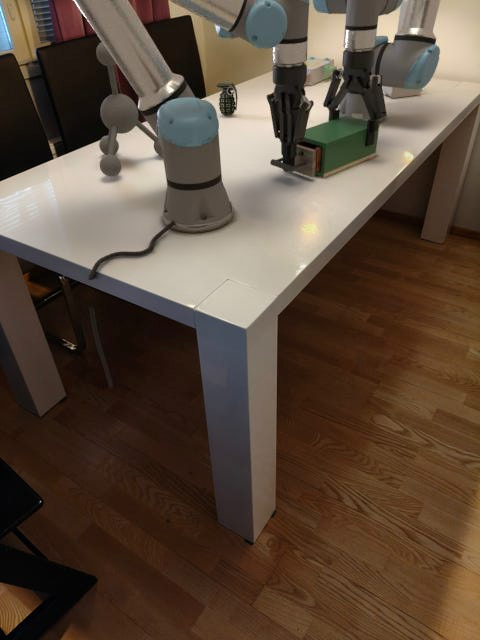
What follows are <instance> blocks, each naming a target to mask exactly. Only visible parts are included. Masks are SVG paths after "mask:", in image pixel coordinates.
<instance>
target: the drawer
mask: <svg viewBox="0 0 480 640" xmlns="http://www.w3.org/2000/svg"><path fill="white" fill-rule="evenodd" d="M322 148H323V147H321V146H318V145H314V144H311V143H308V142H304V141H302V142H299V143H297V155H296V157H295V166H292V165H289V164H286V163H283V157H280V158H278V159H274V158H273V159H271V160H270V163H269V164H270V165H271V166H273V167H276V168H278V169H282V170H283V169H284V170H287V171H286V172H291V173H293V172H295V173H298V174H301V175H304V176H307V177H309V178H314V177H316V175H315V171H316V172H317V171H320V170H321V166H322ZM284 170H283V171H284Z"/></svg>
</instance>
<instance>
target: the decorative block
mask: <svg viewBox="0 0 480 640" xmlns="http://www.w3.org/2000/svg"><path fill="white" fill-rule="evenodd" d="M304 63H305V64H306V65H307V80H306V82H305V84H304V85H307V86H313V85H316V84H318V83H320V82H323V81H325V80H327V79H329V78H331V76H332V74H333V70H336V69H338V66H336V65H335V59H334V58H329V57H325V58H323V57H322V58H321V57H314V56H310V57H307V61H306V62H304Z"/></svg>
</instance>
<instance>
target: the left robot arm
mask: <svg viewBox="0 0 480 640" xmlns="http://www.w3.org/2000/svg"><path fill="white" fill-rule="evenodd" d="M73 1H74V3H75V4H76V6H77V7H78V10H80V12H81V14H82V15H83V17H85V19H86V21H87V22H88V23H89V25H90V26H91V28H92V29H93V31H94V33H95V34H96V35H97V37H98V38H99V41H101V42H102V43H103V44H104V46H105V47H106V49H107V50H108V52H109V53H110V55H111V56H112V58H113V59H114V61H115V62H116V64H115V65H117V67H118V68H119V70H120V71H121V72H122V74H123V75H124V77H125V79H126V80H127V81H128V83H129V84H130V86H131V87H132V89H133V90H134V92H135V93H136V95H137V96H138V101H137V102H138V103H137V109H138V111H139V112H140V113H141V115H142V116H143V117H144V119H145V121H146V122H147V123H148V125H149V126H150V128H151V130H152V131H153V133H154V135H155V136H157V137H158V140H159V143H160V145H161V148H162V154H163V156H162V159H163V168H164V173H165V180H166V190H165V191H166V192H165V196H164V203H163V207H162V218H163V222H164V224H165V226H164V227H163V228H162V229H161V230H160V231H159V232H157V233H156V234H155V235H154V236H153V237H152V238H151V240H150V242H149V245H148V247H147V248H145V249H143V250H139V251H123V250H121V251H116V252H111V253H109V254H106V255H104V256H102V257H101V258H99V259H98V260H97V261H96V262H94V265H93V266H92V268H91V271H90V273H89V275H88V281H92V280H94V278H95V276H96V274H97V271H98V269H99V268H100V266H101V265H102V263H104V262H107V261H108V260H111V259H114V258H117V257H141V256H145V255H147V254H149V253H151V252H152V251H153V250H154V248H155V244H156V242H157V241H158V240H159V238H161V237H162V236H163V235H164V234H165V233H167V232H168V231H169V230H170V229H171V230H173V231H177V232H180V233H190V234H191V233H192V234H193V233H194V234H195V233H196V234H197V233H205V232H206V233H207V232H210V231H215V230H216V229H220V228H222V227H224V226H226V225H227V224H228V223H230V221H231V220H232V218H233V216H234V212H233V211H234V205H233V202H232V200H231V199H230V197H229V195H228V192H227V190H226V187H225V184H224V182H223V175H222V174H223V173H222V164H221V163H222V161H221V147H220V146H221V145H220V133H219V129H220V122H219V118H218V114H217V109H216V108H215V105H213V104H212V103H211V102H210V101H208V100H207V99H206V100H205V99H201V98H199V97H196V96H195V95H194V93H193V91H192V89H191V88H190V86H189V84H188V83H187V81H186V79H185V77H184V76H183V75H181V74H178V73H174V72H173V71H172V70H171V68H170V67H169V65H168V63H167V62H166V60H165V59H164V57H163V55H162V53H161V52H160V50H159V49H158V47H157V45H156V43H155V42H154V40H153V39H152V37H151V36H150V34H149V32H148V30H147V29H146V27H145V25H144V24H143V23H142V21H141V19H140V18H139V16H138V14H137V12H136V10H135V9H134V8H133V6H132V4H131V2H130V1H129V0H73ZM168 1H169V2H170V3H173V4H175V5H177V6H179V7H181V8H183V9H184V10H186V11H189V12H190V13H192V14H195V15H196V16H198V17H200V18H202V19H203V20H206V21H208V22H210V23H212V24H214V27H215V31H216V35H217V36H218V37H219V39H231V40H234V39H237V38H239V39H241V40H243V41H245V42H248V43H249V44H250V45H252V46H253V47H255V48H257V49H260V50H261V49H264V50H268V49H271V52H272V53H271V55H272V57H271V58H272V60H271V61H272V63H273V66H272V83H273V84H274V88H273V92H271V93H269V94H266V100H267V103H268V105H269V110H270V116H271V122H272V128H273V135H274V138H275V139H278V140H279V142H280V143H281V144H280V153H281V156H282V158H283V161H282V162H283V163H286V164H289V165H292V166H295V157H296V155H297V143H299V142H302V141H304V137H305V132H306V129H307V127H308V122H309V117H310V114H311V110H312V108H313V107H314V104H315V102H314V100H309V99H308V98H307V96H306V90H305V85H306V84H305V82H306V80H307V65H306V64H305V63H304V62H306V61H307V59H308V40H309V35H308V34H309V16H310V5H311V4H310V3H311V2H310V0H168ZM282 171H284V172H288V171H287V170H284V169H282ZM88 308H89V309H88V310H89V317H90V323H91V328H92V332H93V333H92V334H93V338H94V341H95V345H96V348H97V352H98V354H99V357H100V360H101V361H100V362H101V363H102V367H103V370H104V373H105V377H106V380H107V383H108V387H109V388H110V389H111V388H113V387H114V383H113V380H112V376H111V372H110V370H109V369H110V368H109V365H108V362H107V359H106V356H105V353H104V350H103V346H102V343H101V339H100V335H99V331H98V326H97V320H96V314H95V313H96V312H95V307H91V306H88Z"/></svg>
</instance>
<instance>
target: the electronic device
mask: <svg viewBox="0 0 480 640" xmlns="http://www.w3.org/2000/svg"><path fill="white" fill-rule="evenodd" d="M407 3H408V0H403V2H402V3H401V5H400V6H399V14H398V15H399V16H398V24H397V29H396V33H397V32H399V31H400V30H401V29H402V25H403V21H404V16H405V12H406V7H407ZM382 89H383V94H385V95H386V96H388V97H390V98H393V99H396V98H397V99H399V98H404V97H405V98H406V97H412V96H419V95H420V94H421V93H422V92H423V88H422V89H409V90H407V89H403V88H395V87H386V86H382Z"/></svg>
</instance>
